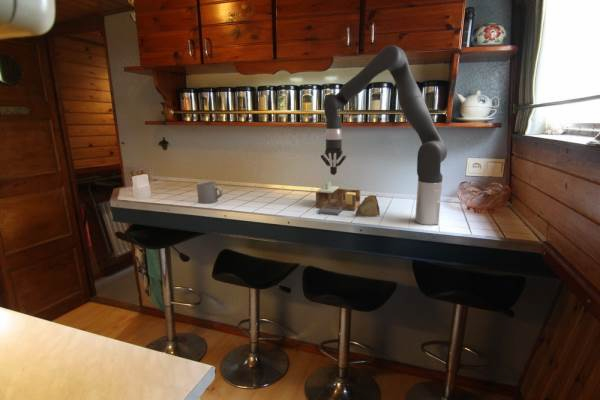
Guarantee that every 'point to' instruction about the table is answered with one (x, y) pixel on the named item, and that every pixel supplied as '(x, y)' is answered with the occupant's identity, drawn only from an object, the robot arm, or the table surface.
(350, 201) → the block
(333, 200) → the wooden drawer box
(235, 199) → the table surface
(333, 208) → the dish
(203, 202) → the coffee mug
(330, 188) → the lid
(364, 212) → the rock
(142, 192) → the base with upright slab
